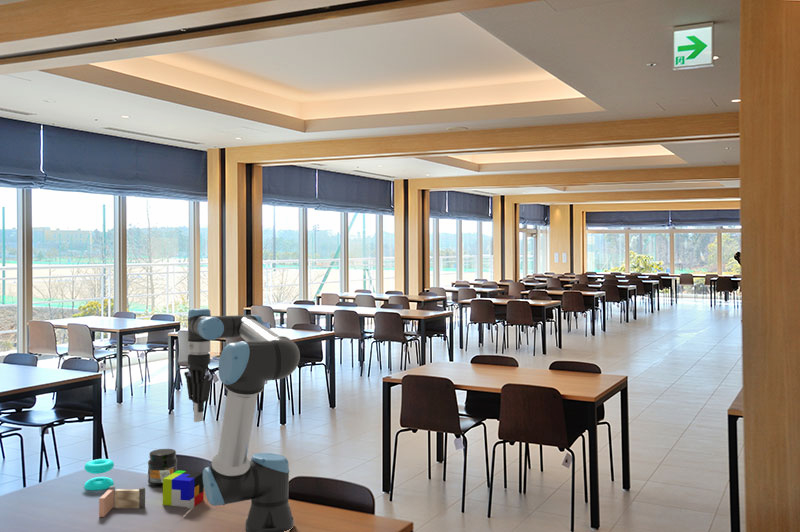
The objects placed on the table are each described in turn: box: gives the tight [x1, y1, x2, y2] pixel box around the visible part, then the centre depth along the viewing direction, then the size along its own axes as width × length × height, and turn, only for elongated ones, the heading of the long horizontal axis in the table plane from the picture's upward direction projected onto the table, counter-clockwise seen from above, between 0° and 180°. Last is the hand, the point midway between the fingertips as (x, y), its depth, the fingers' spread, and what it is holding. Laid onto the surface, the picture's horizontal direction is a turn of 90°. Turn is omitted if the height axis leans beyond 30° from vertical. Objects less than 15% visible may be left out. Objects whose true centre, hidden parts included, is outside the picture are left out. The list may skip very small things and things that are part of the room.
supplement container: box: [147, 448, 178, 488], centre depth 262 cm, size 10×10×12 cm
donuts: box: [83, 458, 115, 491], centre depth 255 cm, size 10×10×10 cm
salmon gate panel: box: [98, 485, 116, 518], centre depth 229 cm, size 11×2×7 cm, turn 4°
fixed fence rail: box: [114, 487, 146, 509], centre depth 233 cm, size 10×2×7 cm, turn 89°
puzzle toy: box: [162, 469, 205, 511], centre depth 240 cm, size 10×10×10 cm
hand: (198, 421), depth 239 cm, fingers closed
